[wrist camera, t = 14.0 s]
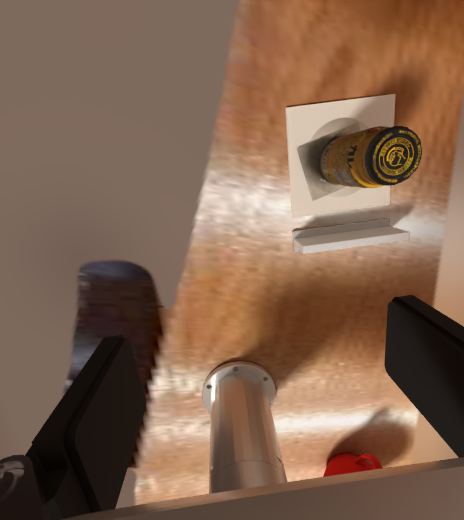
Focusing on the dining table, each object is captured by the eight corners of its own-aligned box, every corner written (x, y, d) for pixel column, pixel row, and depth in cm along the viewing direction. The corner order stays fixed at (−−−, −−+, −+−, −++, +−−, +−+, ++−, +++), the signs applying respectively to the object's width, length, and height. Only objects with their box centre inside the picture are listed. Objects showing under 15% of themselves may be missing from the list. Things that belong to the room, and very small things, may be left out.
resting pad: (387, 204, 39) (390, 205, 39) (291, 217, 39) (292, 218, 39) (393, 94, 35) (396, 93, 35) (285, 108, 35) (286, 107, 34)
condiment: (370, 176, 37) (438, 177, 26) (312, 200, 38) (353, 212, 27) (357, 122, 35) (424, 97, 24) (295, 148, 36) (332, 137, 24)
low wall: (386, 238, 41) (408, 247, 36) (293, 250, 41) (303, 261, 36) (387, 218, 40) (410, 224, 35) (292, 231, 40) (302, 239, 35)
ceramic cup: (388, 426, 52) (426, 482, 43) (365, 488, 57) (395, 551, 48) (322, 423, 51) (347, 480, 42) (305, 487, 56) (323, 551, 47)
